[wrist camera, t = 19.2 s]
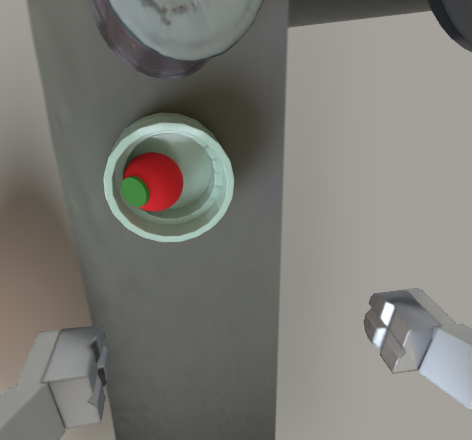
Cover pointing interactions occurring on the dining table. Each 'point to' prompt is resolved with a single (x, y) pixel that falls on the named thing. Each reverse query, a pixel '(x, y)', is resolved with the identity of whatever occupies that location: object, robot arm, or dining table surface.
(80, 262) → the dining table surface
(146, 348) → the dining table surface
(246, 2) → the sauce bottle
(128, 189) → the tomato
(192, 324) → the dining table surface
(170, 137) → the bowl
